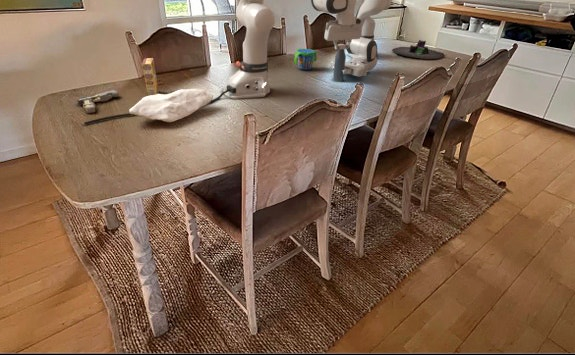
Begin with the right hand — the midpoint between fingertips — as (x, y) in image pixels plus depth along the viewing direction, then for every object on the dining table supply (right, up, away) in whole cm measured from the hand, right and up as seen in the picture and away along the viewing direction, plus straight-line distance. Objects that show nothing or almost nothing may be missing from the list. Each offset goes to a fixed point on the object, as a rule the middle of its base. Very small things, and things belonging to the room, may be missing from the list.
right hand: (338, 70), depth 192 cm
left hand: (+1, +10, -5) cm, 11 cm away
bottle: (0, -4, +3) cm, 5 cm away
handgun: (-107, -25, -36) cm, 115 cm away
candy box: (-88, -19, -25) cm, 94 cm away
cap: (+1, +11, -6) cm, 13 cm away
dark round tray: (+63, +29, +60) cm, 92 cm away
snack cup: (-17, +6, +19) cm, 26 cm away
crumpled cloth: (-74, -30, -43) cm, 91 cm away
